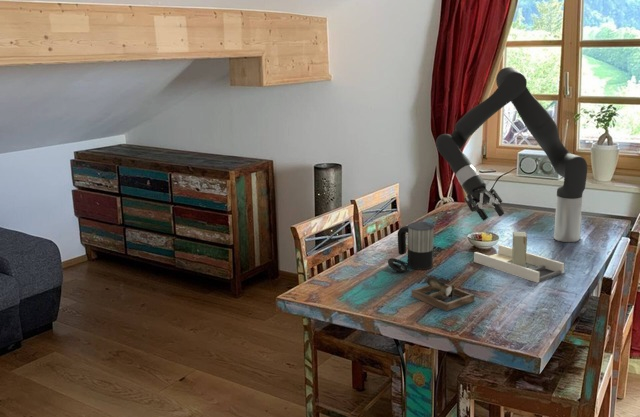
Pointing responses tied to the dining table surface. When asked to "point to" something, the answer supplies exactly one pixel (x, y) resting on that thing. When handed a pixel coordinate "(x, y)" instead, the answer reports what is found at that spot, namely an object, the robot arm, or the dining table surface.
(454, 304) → the display frame
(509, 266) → the channel
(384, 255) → the dining table surface
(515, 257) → the skincare box
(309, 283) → the dining table surface
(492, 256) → the pad
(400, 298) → the dining table surface
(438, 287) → the eagle figurine
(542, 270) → the tray
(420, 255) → the milk frother
